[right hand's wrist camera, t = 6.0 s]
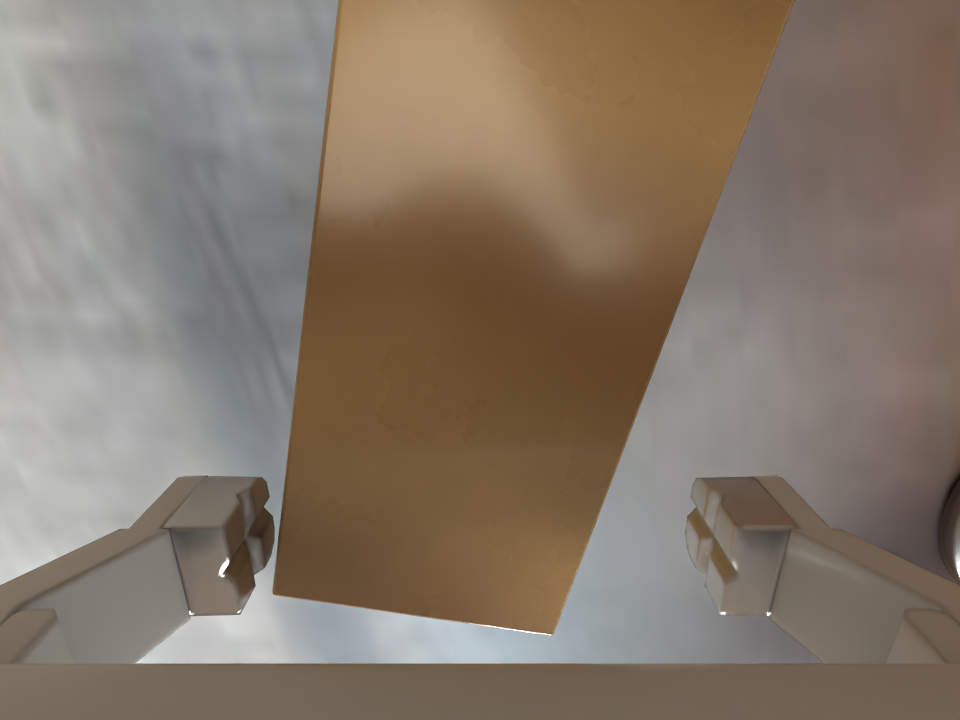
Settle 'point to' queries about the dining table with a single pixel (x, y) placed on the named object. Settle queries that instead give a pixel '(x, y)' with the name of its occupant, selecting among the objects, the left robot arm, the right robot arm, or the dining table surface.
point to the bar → (497, 285)
